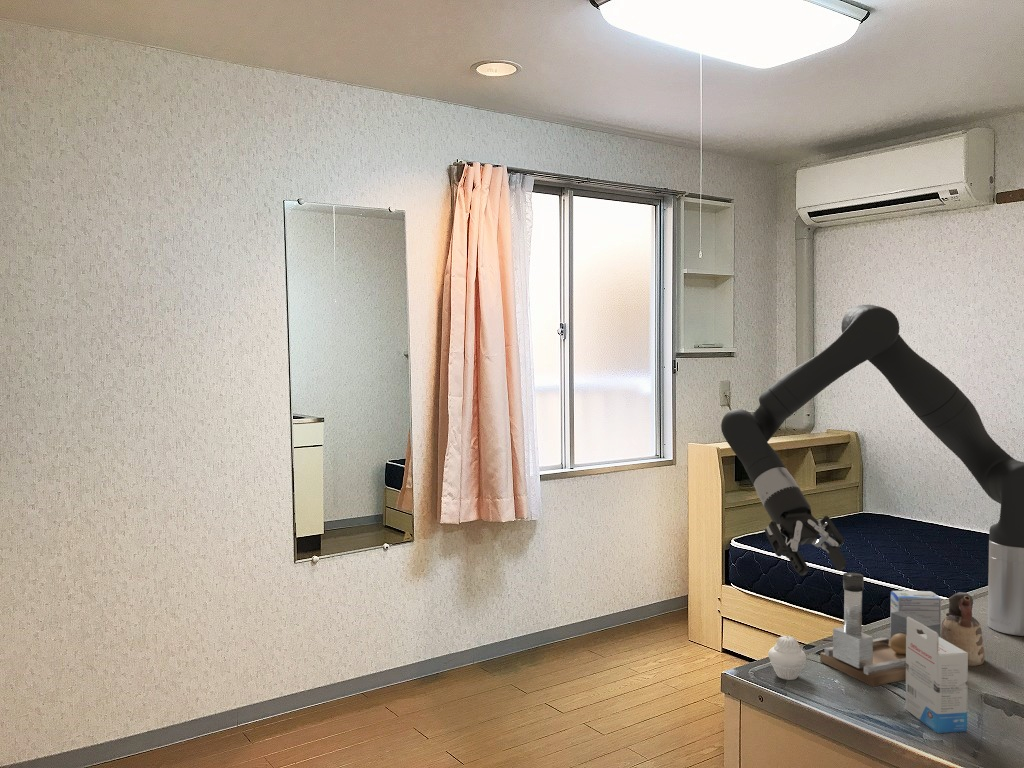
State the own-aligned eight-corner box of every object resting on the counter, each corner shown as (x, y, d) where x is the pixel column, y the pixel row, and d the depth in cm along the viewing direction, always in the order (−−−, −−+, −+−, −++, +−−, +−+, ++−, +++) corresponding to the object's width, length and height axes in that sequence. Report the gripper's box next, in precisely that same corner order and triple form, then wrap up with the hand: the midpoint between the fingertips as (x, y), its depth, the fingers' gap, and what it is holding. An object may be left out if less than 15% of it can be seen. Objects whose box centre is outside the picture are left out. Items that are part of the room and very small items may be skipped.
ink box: (968, 732, 121) (970, 632, 120) (936, 734, 120) (938, 633, 119) (934, 707, 129) (935, 613, 128) (903, 708, 129) (905, 614, 128)
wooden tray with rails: (896, 646, 155) (896, 619, 155) (951, 669, 144) (952, 640, 144) (820, 661, 148) (820, 633, 148) (872, 686, 137) (873, 656, 137)
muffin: (807, 672, 143) (808, 632, 143) (804, 686, 137) (804, 644, 137) (770, 667, 146) (770, 627, 145) (765, 679, 140) (765, 639, 140)
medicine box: (931, 634, 161) (932, 590, 161) (941, 643, 157) (942, 597, 156) (889, 633, 162) (890, 589, 162) (897, 641, 158) (898, 596, 157)
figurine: (980, 654, 151) (981, 588, 150) (988, 668, 144) (989, 600, 144) (936, 649, 153) (937, 585, 153) (942, 663, 147) (943, 596, 146)
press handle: (846, 653, 146) (847, 569, 146) (873, 665, 141) (874, 578, 140) (832, 656, 145) (833, 571, 145) (858, 668, 140) (859, 580, 139)
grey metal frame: (898, 640, 154) (898, 608, 153) (944, 659, 144) (945, 625, 144) (824, 654, 147) (824, 621, 147) (868, 675, 138) (868, 639, 138)
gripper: (760, 487, 154) (803, 563, 144) (820, 482, 159) (866, 555, 149) (741, 511, 159) (782, 586, 149) (801, 505, 164) (843, 577, 154)
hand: (824, 570), depth 149 cm, fingers open, 8 cm apart
